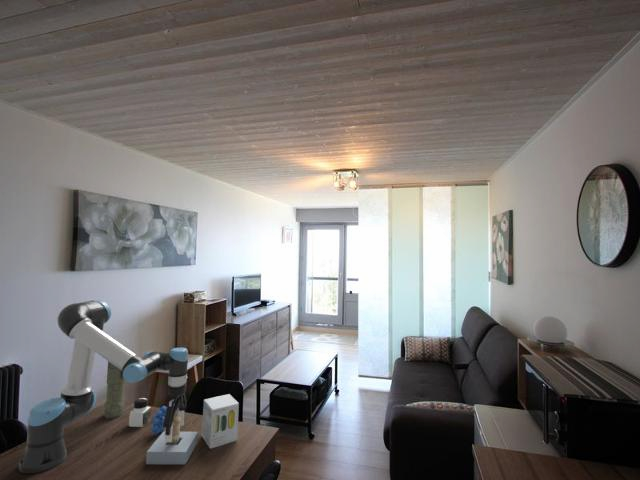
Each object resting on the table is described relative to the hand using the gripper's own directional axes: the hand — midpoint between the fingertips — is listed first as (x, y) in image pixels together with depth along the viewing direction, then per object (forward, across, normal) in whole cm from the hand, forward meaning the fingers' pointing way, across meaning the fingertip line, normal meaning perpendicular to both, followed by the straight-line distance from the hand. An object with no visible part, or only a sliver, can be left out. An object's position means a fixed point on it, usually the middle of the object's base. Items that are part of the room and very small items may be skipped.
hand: (174, 433), depth 144 cm
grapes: (+9, +17, +14) cm, 24 cm away
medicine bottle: (+9, +25, +27) cm, 38 cm away
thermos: (+9, +34, +45) cm, 57 cm away
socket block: (+8, 0, 0) cm, 8 cm away
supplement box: (+9, +12, -17) cm, 23 cm away
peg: (+7, 0, 0) cm, 7 cm away
